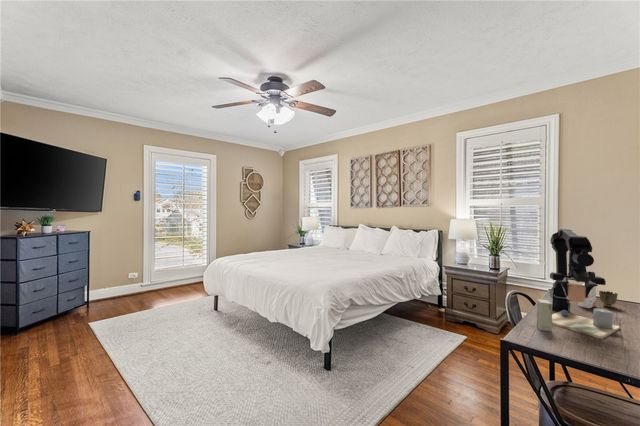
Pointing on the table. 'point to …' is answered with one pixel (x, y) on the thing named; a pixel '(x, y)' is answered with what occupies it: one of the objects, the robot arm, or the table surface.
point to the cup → (608, 298)
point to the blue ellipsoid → (564, 313)
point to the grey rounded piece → (603, 318)
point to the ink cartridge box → (589, 299)
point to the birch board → (581, 325)
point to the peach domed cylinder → (576, 292)
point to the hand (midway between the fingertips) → (575, 297)
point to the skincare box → (544, 315)
